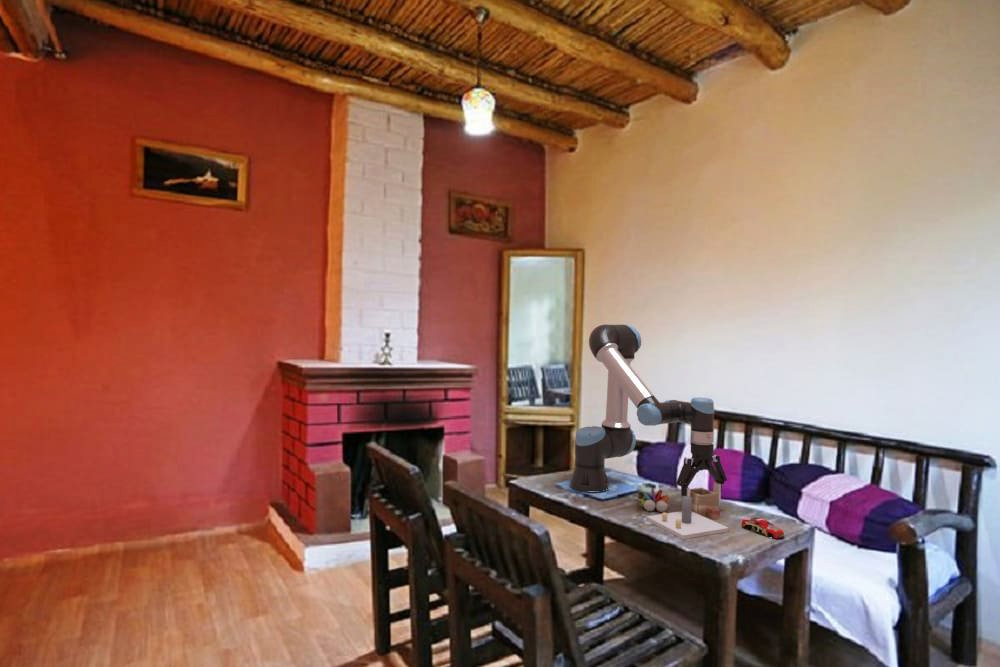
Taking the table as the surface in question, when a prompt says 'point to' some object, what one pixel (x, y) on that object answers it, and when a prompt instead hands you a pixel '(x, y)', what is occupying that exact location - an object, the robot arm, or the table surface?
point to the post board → (688, 528)
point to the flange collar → (705, 503)
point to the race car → (762, 527)
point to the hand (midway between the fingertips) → (701, 504)
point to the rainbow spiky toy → (655, 501)
